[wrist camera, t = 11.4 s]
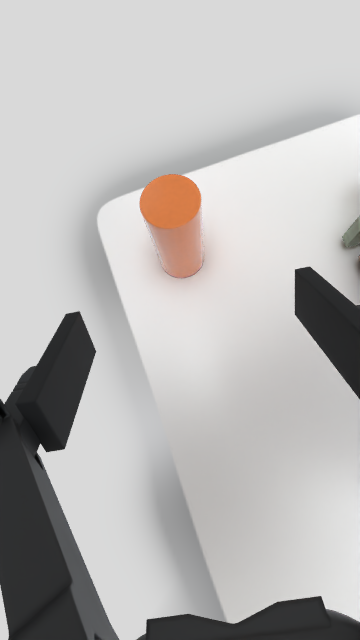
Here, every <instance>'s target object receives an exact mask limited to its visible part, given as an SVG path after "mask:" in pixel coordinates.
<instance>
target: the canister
mask: <svg viewBox="0 0 360 640" xmlns="http://www.w3.org/2000/svg"><path fill="white" fill-rule="evenodd" d="M140 210H141V213H142V216H143V218H144V221H145V224H146V226H147V229H148V231H149V234H150V237H151V239H152V242H153V244H154V247H155V250H156V252H157V255H158V257H159V260H160V263H161V265H162V267H163V269H164V270H165V271H166V272H167V273H168V274H169V275H171V276H173V277H177V278H186V277H189V276H192V275H194V274H195V273H196V272H197V271H199V269H200V268H201V266H202V264H203V262H204V242H203V222H202V203H201V194H200V191H199V189H198V187H197V185H196V184H195V183H194V182H193V181H192V180H190V179H189V178H187V177H185V176H182V175H176V174H169V175H164V176H161V177H158V178H156V179H154V180H153V181H152V182H150V183H149V184H148V185H147V186H146V187H145V189H144V190H143V192H142V195H141V198H140Z"/></svg>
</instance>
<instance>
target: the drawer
mask: <svg viewBox="0 0 360 640" xmlns="http://www.w3.org/2000/svg"><path fill="white" fill-rule="evenodd" d="M342 238H343V241H344V244H345V247H349V246H354V245H359V244H360V216H359V217H358V218H357V220H356V221H355V222H354V223H353V224H352V226H351V227H350V228H349V229H348V230H347V232H346V233H345V234H344V235H343V236H342ZM358 257H359V260H360V255H359V256H358Z"/></svg>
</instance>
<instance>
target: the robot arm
mask: <svg viewBox="0 0 360 640" xmlns="http://www.w3.org/2000/svg"><path fill="white" fill-rule="evenodd" d="M295 315H296V316H297V318H298V319H299V320H300V322H301V323H302V324H303V326H304V327H305V328H306V329H307V331H308V332H309V333H310V335H311V336H312V337H313V339H314V340H315V341H316V343H317V344H318V345H319V347H320V348H321V349H322V350H323V352H324V353H325V354H326V356H327V357H328V358H329V360H330V361H331V362H332V364H333V365H334V366H335V367H336V369H337V370H338V371H339V373H340V374H341V375H342V377H343V378H344V379H345V381H346V382H347V383H348V384H349V386H350V387H351V388H352V390H353V391H354V392H355V394H356V395H357V396H358V398H359V399H360V305H357V306H355V305H354V304H353V303H352V302H351V301H350V300H348V299H347V298H346V297H345V296H344V295H343V294H341V293H340V292H339V291H338V290H337V289H335V288H334V287H333V286H332V285H331V284H330V283H328V282H327V281H326V280H325V279H324V278H323V277H321V276H320V275H319V274H318V273H317V272H315V271H314V270H313V269H312V268H311V267H305V268H300V269H295ZM95 353H96V350H95V348H94V345H93V343H92V340H91V338H90V335H89V333H88V331H87V328H86V326H85V324H84V321H83V319H82V316H81V314H80V312H74V313H69V314H66V315H65V317H64V319H63V320H62V322H61V324H60V326H59V327H58V329H57V331H56V333H55V335H54V336H53V338H52V340H51V341H50V343H49V345H48V347H47V349H46V350H45V352H44V354H43V356H42V357H41V359H40V361H39V363H38V364H37V366H33V367H30V368H29V369H28V370H27V371H26V372H25V373H24V374H23V375H22V376H21V378H20V379H19V381H18V383H17V385H16V386H15V388H14V389H13V392H11V394H10V396H9V397H8V399H7V401H6V402H5V404H3V402H2V401H1V399H0V585H1V591H2V596H3V602H4V607H5V613H6V618H7V624H8V629H9V639H8V640H119V638H118V637H117V635H116V633H115V632H114V629H113V628H112V626H111V624H110V622H109V620H108V617H107V615H106V613H105V610H104V608H103V605H102V603H101V601H100V598H99V596H98V594H97V591H96V589H95V586H94V584H93V582H92V579H91V577H90V575H89V572H88V570H87V568H86V565H85V563H84V560H83V558H82V556H81V553H80V551H79V548H78V546H77V544H76V541H75V539H74V537H73V534H72V532H71V529H70V527H69V524H68V522H67V520H66V517H65V515H64V513H63V510H62V508H61V506H60V503H59V501H58V498H57V496H56V494H55V491H54V489H53V487H52V484H51V482H50V479H49V477H48V475H47V472H46V470H45V467H44V465H43V463H42V460H41V458H40V456H39V455H38V453H37V450H38V447H39V445H40V443H41V445H42V446H43V448H44V449H45V451H46V452H50V451H57V450H62V449H65V446H66V443H67V440H68V437H69V434H70V431H71V428H72V425H73V422H74V418H75V415H76V412H77V409H78V406H79V403H80V400H81V397H82V393H83V390H84V387H85V384H86V381H87V378H88V375H89V372H90V368H91V365H92V363H93V359H94V356H95ZM137 640H360V622H358V621H356V620H354V619H352V618H350V617H349V616H347V615H344V614H341V613H339V612H336V611H333V610H328V609H325V606H324V603H323V600H322V597H321V596H318V597H311V598H303V599H296V600H288V601H281V602H276V603H274V604H273V605H271V606H269V607H267V608H265V609H263V610H261V611H259V612H257V613H256V614H254V615H252V616H250V617H248V618H246V619H244V620H242V621H241V622H238V623H235V624H231V623H226V622H222V621H217V620H212V619H208V618H204V617H200V616H195V615H191V614H184V615H177V616H170V617H162V618H155V619H148V620H147V627H146V634H144V635H142V636H141V637H139V638H138V639H137Z"/></svg>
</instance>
